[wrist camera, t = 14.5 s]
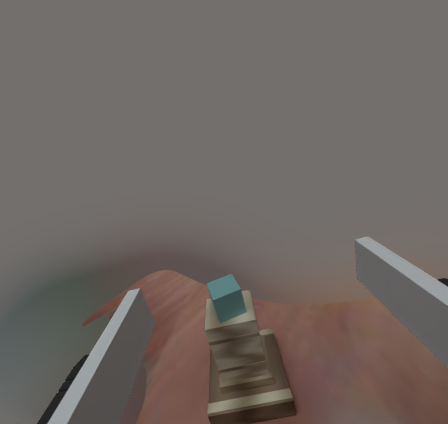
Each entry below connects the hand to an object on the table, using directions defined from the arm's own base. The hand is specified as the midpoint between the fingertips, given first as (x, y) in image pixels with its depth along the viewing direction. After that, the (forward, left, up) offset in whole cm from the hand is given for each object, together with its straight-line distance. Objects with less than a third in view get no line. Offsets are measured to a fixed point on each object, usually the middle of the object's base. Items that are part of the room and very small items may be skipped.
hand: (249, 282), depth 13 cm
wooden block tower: (+4, -15, -27) cm, 30 cm away
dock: (+4, -15, -30) cm, 33 cm away
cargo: (+4, -15, -15) cm, 21 cm away
